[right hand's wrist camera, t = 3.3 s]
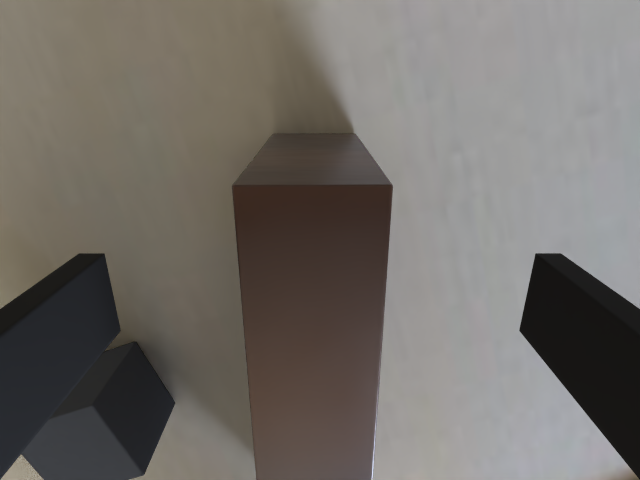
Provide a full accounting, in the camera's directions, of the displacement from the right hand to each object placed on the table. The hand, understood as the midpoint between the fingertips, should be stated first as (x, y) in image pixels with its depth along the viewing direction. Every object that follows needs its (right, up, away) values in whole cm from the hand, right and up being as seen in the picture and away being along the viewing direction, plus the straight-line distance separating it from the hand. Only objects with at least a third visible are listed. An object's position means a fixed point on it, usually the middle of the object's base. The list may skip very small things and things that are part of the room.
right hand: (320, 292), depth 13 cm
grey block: (-12, -7, +12) cm, 19 cm away
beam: (0, -4, +11) cm, 12 cm away
